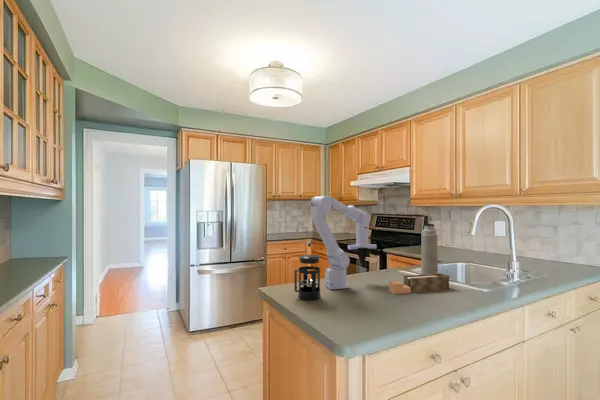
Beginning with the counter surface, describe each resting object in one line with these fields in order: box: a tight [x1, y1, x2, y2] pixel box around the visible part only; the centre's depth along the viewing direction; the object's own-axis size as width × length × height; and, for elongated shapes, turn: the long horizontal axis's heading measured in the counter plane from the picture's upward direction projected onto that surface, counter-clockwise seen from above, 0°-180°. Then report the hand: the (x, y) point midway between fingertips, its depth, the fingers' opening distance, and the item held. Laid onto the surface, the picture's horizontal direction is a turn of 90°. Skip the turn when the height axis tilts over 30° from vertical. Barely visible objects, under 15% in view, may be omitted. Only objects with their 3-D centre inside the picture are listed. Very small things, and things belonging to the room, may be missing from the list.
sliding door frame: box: [403, 272, 450, 293], centre depth 140 cm, size 20×6×6 cm, turn 104°
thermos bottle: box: [420, 223, 439, 274], centre depth 164 cm, size 8×8×28 cm
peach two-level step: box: [388, 280, 412, 295], centre depth 135 cm, size 8×4×4 cm, turn 99°
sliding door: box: [405, 276, 433, 287], centre depth 139 cm, size 16×3×5 cm, turn 104°
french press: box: [293, 241, 321, 302], centre depth 128 cm, size 12×9×23 cm
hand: (362, 263), depth 151 cm, fingers closed
